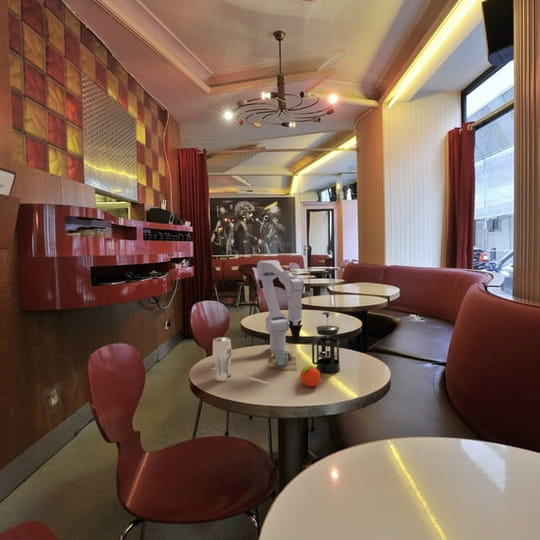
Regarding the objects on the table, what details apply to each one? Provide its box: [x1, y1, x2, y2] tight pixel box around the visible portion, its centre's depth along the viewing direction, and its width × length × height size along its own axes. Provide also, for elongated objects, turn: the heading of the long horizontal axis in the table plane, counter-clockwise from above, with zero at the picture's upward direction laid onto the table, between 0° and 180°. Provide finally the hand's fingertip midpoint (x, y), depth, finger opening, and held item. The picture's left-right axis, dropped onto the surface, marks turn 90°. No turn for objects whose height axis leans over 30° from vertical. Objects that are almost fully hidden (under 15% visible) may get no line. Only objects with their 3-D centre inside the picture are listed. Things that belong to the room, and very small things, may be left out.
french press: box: [311, 311, 341, 375], centre depth 143 cm, size 12×9×23 cm
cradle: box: [265, 352, 298, 372], centre depth 151 cm, size 18×12×3 cm, turn 177°
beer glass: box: [212, 336, 232, 382], centre depth 136 cm, size 7×7×15 cm
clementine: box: [299, 365, 321, 387], centre depth 127 cm, size 8×7×7 cm
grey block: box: [275, 350, 289, 367], centre depth 146 cm, size 5×10×5 cm, turn 177°
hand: (295, 338), depth 155 cm, fingers open, 7 cm apart
